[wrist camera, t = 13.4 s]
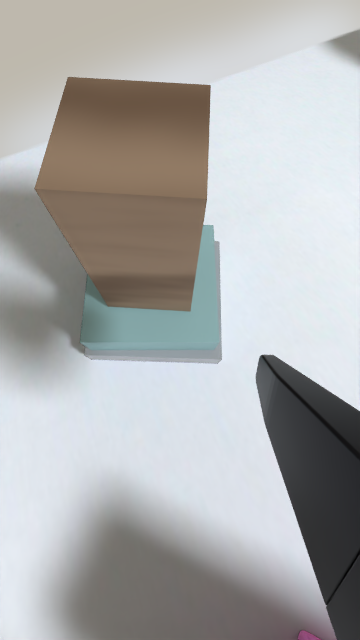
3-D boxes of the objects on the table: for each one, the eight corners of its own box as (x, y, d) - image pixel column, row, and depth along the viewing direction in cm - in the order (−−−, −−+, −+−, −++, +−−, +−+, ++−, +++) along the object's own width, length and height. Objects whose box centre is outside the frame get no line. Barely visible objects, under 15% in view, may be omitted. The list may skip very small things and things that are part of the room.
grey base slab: (216, 364, 22) (221, 359, 20) (93, 360, 22) (83, 355, 20) (215, 257, 25) (219, 241, 23) (107, 253, 25) (100, 237, 23)
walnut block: (190, 311, 18) (206, 198, 9) (108, 306, 18) (34, 188, 9) (193, 241, 20) (210, 85, 10) (118, 237, 20) (68, 76, 10)
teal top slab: (214, 350, 20) (219, 342, 18) (91, 350, 20) (79, 342, 17) (209, 244, 23) (213, 225, 20) (101, 243, 23) (92, 224, 20)
